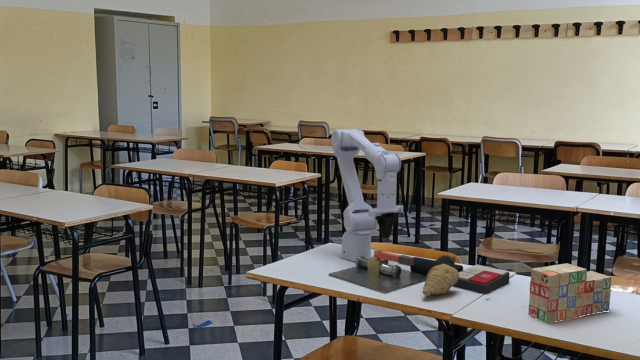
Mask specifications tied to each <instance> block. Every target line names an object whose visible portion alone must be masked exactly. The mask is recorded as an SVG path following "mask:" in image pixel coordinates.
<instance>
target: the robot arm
mask: <svg viewBox="0 0 640 360" xmlns="http://www.w3.org/2000/svg"><path fill="white" fill-rule="evenodd" d="M330 143H331V147H332V148H331V149H332V152H333V156H335V157H336V159H337V163H338V167H339V173H340V177H341V179H342V183H343V187H344V191H345V196H346V200H347V203H348V206H347V207H346V208H345V209H344V211H343V212H342V214H343V225H344V228H345V232H344V233H343V235H342V237H341V255H339V258H342V259H345V260H348V261H352V262H355V263H356V259H357V257H358V256H364V257H365V258H367V259H368V258H372V257H373V256H372V255H371V251H372V249H371V248H372V234H374V231H375V230H376V228H377V225H378V227H379V231H380V236H381V238H382V239H390V237H391V234H392V230H393V227H394V225H395V223H396V221H397V220H398V216H399V215H398V214H396V213H404V205H398V204H397V182H398V181H397V177H398V173H399V172H400V171H401V168H402V160H401V158H400V156H399V155H398V153H389V151H388V150H387V149H385V148H384V147H382V145H381V144H380V143H379V142H374V143H373V142H371V141H370V140H369V139H368V138H367V137H366V135H365V132H364V131H363V130H362V129H360V128H355V129H352V128H351V129H349V128H346V129H343V128H342V129H340V128H335V129H334V130H333V131H332V134H331V137H330ZM360 151H362V152H363V153H364V158H365V159H367V160H368V161H369V162H370V163H371V164H372V165H373V168H374V171H375V177H376V179H377V192H376V194H377V195H376V207H374V208H373V207H372V206H371V205H370V204H368V203H367V202H365V200H364V199H365V198H364V196H363V192H362V188H361V184H360V180H359V178H358V174H357V169H356V165H355V162H354V158H355V157H357V156H358V155H359V153H360Z"/></svg>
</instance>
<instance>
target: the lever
mask: <svg viewBox="0 0 640 360" xmlns="http://www.w3.org/2000/svg"><path fill="white" fill-rule="evenodd" d="M373 257H375V258H380V259H385V260H388V262H394V263H398V265H403V266H407V267H410V266H412V265H414V257H415V256H411V255H410V256H409V255H404V254H402V255H401V254H396V253H392V252H388V251H384V250H381V249H380V250H379V249H376V250H374V251H373Z"/></svg>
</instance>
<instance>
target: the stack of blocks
mask: <svg viewBox="0 0 640 360" xmlns="http://www.w3.org/2000/svg"><path fill="white" fill-rule="evenodd" d="M530 270H531V272H530V281H529V301H528V302H529V303H528V314H527V315H530V316H532V317H531V318H533V317H534V318H533V319H535V318H537V319H539V320H538V321H540V320H541V321H540V322H542V321H543V322H542V323H544V322H545V323H544V324H546V323H549V324H552V323H551V322H555V321H560V320H566V319H571V320H573V319H572V318H575V317H579V316H583V315H587V314H593V313H597V312H603V311H608V310H609V311H610V303H611V295H612V294H611V293H612V287H611V286H612V277H611V276H609V275H606V274H603V273H599V272H596V271H594V270H593V271H592V270H589V271H588V269H587V268H583V267H580V266H577V265H574V264H570V263H568V262H566V263H561V264H554V265H548V266H542V267H534V268H531V269H530ZM530 316H529V317H530ZM537 319H536V320H537ZM575 319H576V318H575ZM566 321H567V320H566ZM555 323H556V322H555Z"/></svg>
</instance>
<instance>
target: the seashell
mask: <svg viewBox="0 0 640 360" xmlns="http://www.w3.org/2000/svg"><path fill="white" fill-rule="evenodd" d="M458 277H459V273H458V271H457V270H456V269H455V268H453V267H451V266H449V265H446V264H441V265H437V266H434V267H432V268H431V269H430V270H429V272H428V274H427V278H426V281H424V286H423V287H422V292H421V293H422V294H423V295H424V296H431V295H444V294H446V293H449V291H450V289H451V288H452V287H453V285H454V284H455V283H457V281H458Z"/></svg>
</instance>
